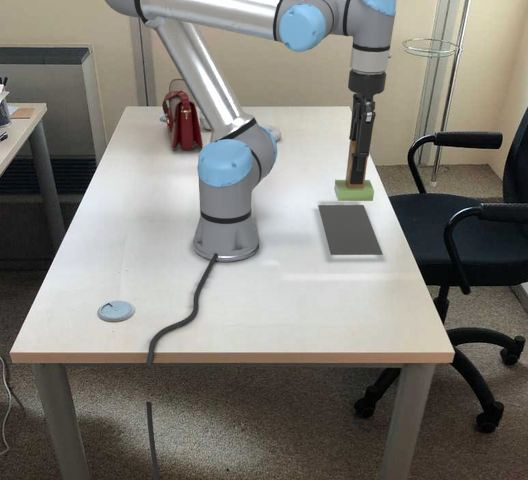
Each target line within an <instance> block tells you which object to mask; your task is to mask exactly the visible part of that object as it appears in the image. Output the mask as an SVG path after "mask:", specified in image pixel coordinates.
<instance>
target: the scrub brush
mask: <svg viewBox="0 0 528 480" xmlns="http://www.w3.org/2000/svg"><path fill="white" fill-rule="evenodd" d="M355 146H356V141H351V140H349V146H348V147H349V148H348V154H347V155H348V157H347V166H346V175H345V179H335V180H334V187H333V190H334V194H335V196H336V200H337V201H338V202H373V201H374V195H375V189H374V187H373V185H372V182H371V180H370V179H366V174H367V167H368V166H367V165H368V158H369V156H368V157H366V161H365V169H364V176H363V184H350V178H351V170H352V162H353V156H351V153H355Z"/></svg>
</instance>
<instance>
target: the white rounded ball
mask: <svg viewBox="0 0 528 480" xmlns="http://www.w3.org/2000/svg"><path fill="white" fill-rule="evenodd" d="M198 120H199V123H200V124H201V125H200V126H202V127H203V128H204V129H206V130H209V131H211V129H210V127H209V125H208V123H207V122H206V120H205V118H204V116H203V114H202V113H201V111H200V110H199V117H198Z"/></svg>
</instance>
